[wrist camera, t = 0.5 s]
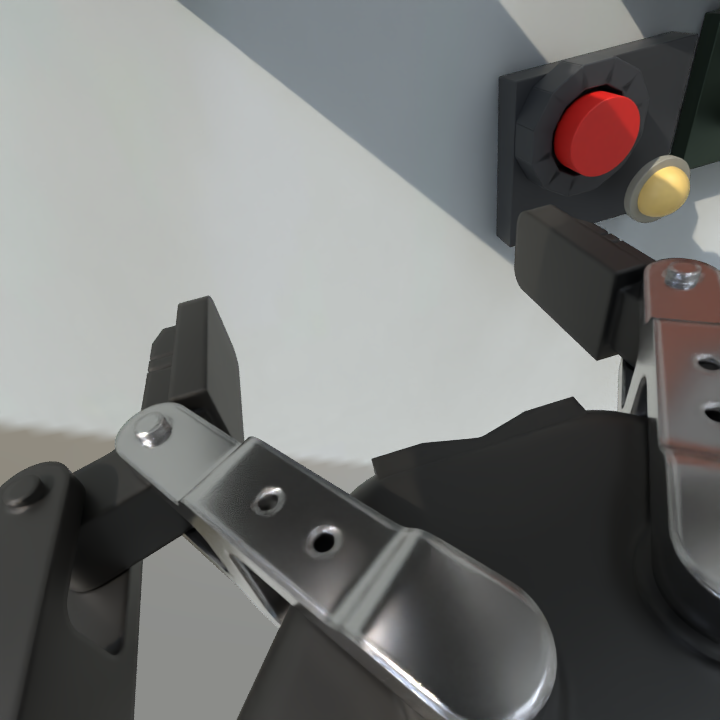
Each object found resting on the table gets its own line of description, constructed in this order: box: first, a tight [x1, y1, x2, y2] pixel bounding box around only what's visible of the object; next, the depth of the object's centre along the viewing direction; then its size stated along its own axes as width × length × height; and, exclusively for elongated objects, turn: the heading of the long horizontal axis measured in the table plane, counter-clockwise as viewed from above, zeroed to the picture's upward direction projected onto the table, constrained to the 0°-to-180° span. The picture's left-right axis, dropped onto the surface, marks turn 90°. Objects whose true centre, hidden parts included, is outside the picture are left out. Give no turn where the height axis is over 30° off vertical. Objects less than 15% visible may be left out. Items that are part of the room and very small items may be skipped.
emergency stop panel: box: [497, 32, 698, 247], centre depth 29 cm, size 10×11×4 cm
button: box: [554, 91, 640, 177], centre depth 26 cm, size 4×4×2 cm
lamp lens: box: [624, 155, 690, 223], centre depth 29 cm, size 4×4×3 cm
